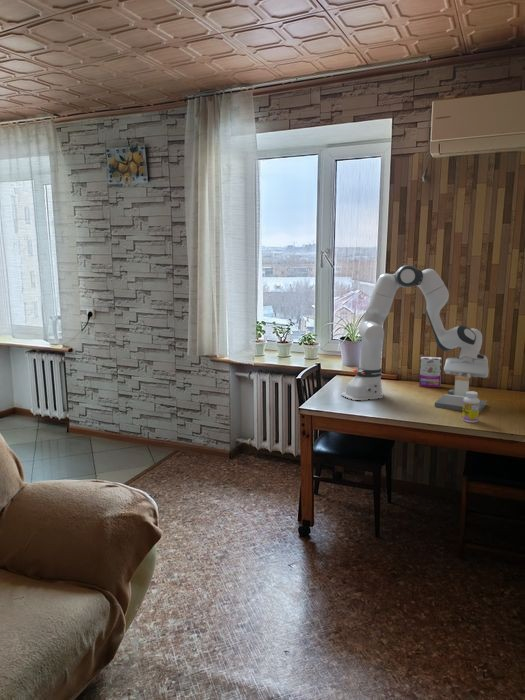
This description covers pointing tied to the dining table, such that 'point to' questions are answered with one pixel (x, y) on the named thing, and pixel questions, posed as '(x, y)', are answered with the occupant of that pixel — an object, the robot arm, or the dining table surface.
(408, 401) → the dining table surface
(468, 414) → the supplement bottle
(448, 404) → the breaker housing
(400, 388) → the dining table surface
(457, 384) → the breaker lever
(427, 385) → the candy bar box
